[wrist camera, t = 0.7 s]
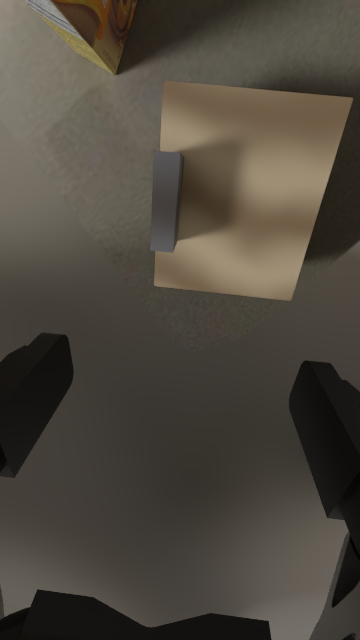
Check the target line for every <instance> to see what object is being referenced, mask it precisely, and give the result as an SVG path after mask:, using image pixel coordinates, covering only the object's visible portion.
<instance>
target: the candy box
mask: <svg viewBox="0 0 360 640" xmlns="http://www.w3.org/2000/svg"><path fill="white" fill-rule="evenodd" d="M25 1H26V2H27V3H28V4H29V5H30V6H31V7H32V8H33V9H34V10H35V11H36V12H37V13H38V14H39V15H40V16H41V17H42V18H43V19H44V20H45V21H46V22H47V23H48V24H49V25H50V26H51V27H52V28H53V29H54V30H55V31H56V32H57V33H58V34H59V35H60V36H61V37H62V38H63V39H64V41H65V42H66V43H68V44H69V45H70V46H71V47H72V49H73V50H75V51H76V52H77V53H78V54H80V55H82V56H83V57H85V58H87V59H88V60H90V61H92V62H93V63H95V64H97V65H98V66H100V67H102V68H103V69H105V70H106V71H108V72H110V73H111V74H113V75H116V72H117V68H118V65H119V62H120V59H121V55H122V52H123V49H124V45H125V42H126V38H127V35H128V31H129V28H130V25H131V22H132V18H133V15H134V12H135V8H136V4H137V1H138V0H25Z"/></svg>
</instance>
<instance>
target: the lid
mask: <svg viewBox="0 0 360 640" xmlns="http://www.w3.org/2000/svg"><path fill="white" fill-rule="evenodd" d="M352 101H353V98H350V97H339V96H328V95H317V94H306V93H295V92H284V91H273V90H262V89H251V88H240V87H229V86H218V85H207V84H196V83H185V82H174V81H163V97H162V120H161V142H160V151H155V150H154V164H153V192H152V220H151V248H150V250H152V251H156V254H155V276H154V286H160V287H169V288H178V289H187V290H197V291H206V292H215V293H224V294H233V295H242V296H251V297H261V298H270V299H279V300H288V301H291V299H292V296H293V292H294V289H295V286H296V283H297V279H298V276H299V273H300V270H301V266H302V263H303V260H304V257H305V253H306V250H307V247H308V244H309V240H310V237H311V234H312V231H313V228H314V224H315V221H316V218H317V215H318V211H319V208H320V205H321V202H322V198H323V195H324V192H325V189H326V185H327V182H328V179H329V176H330V172H331V169H332V166H333V163H334V159H335V156H336V153H337V150H338V146H339V143H340V140H341V137H342V134H343V130H344V127H345V124H346V121H347V117H348V114H349V111H350V108H351V104H352Z"/></svg>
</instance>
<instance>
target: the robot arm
mask: <svg viewBox="0 0 360 640" xmlns="http://www.w3.org/2000/svg"><path fill="white" fill-rule="evenodd" d="M73 372H74V371H73V364H72V357H71V351H70V345H69V340H68V337H67V336H66V335H62V334H52V333H41V334H40V335H38V336H37V337H36V339H34V341H32V342H31V344H29V345H28V346H23V347H21V348H19V349H17V350H15V351H13V352H12V353H10V354H8V355H7V356H6V357H5V358H4V359H3V360H2V361H1V362H0V476H3V477H11V478H14V477H15V476H16V474H17V473H18V471H19V470H20V468H21V466H22V465H23V463H24V461H25V460H26V458H27V456H28V455H29V453H30V451H31V450H32V448H33V447H34V445H35V443H36V442H37V440H38V439H39V437H40V435H41V434H42V432H43V430H44V429H45V427H46V425H47V424H48V422H49V420H50V419H51V417H52V415H53V414H54V412H55V411H56V409H57V407H58V406H59V404H60V403H61V401H62V399H63V398H64V396H65V394H66V393H67V391H68V389H69V388H70V386H71V383H72V380H73ZM289 409H290V413H291V416H292V419H293V422H294V424H295V427H296V430H297V433H298V436H299V439H300V442H301V444H302V447H303V450H304V453H305V456H306V459H307V462H308V465H309V467H310V470H311V473H312V476H313V479H314V482H315V484H316V487H317V490H318V493H319V496H320V499H321V502H322V505H323V507H324V510H325V513H326V516H327V518H333V519H340V520H345V523H346V525H347V528H348V530H349V531H348V532H347V534H346V535H345V538H344V541H343V545H342V548H341V551H340V555H339V558H338V562H337V565H336V569H335V572H334V575H333V579H332V582H331V586H330V589H329V592H328V596H327V599H326V603H325V606H324V609H323V611H322V614H321V616H320V618H319V620H318V622H317V624H316V626H315V628H314V630H313V632H312V634H311V636H310V639H309V640H360V392H359V391H358V390H357V389H356V388H355V387H354V386H352V385H351V384H350V383H349V382H348V381H346V380H341V378H340V377H339V375H338V373H337V372H336V370H335V369H334V367H333V366H332V365H331V364H330V363H326V362H316V361H304V362H303V363H302V364H301V366H300V369H299V372H298V374H297V377H296V380H295V382H294V385H293V388H292V391H291V393H290V398H289ZM0 640H271V634H270V627H269V621H264V620H257V619H249V618H241V617H234V616H227V615H220V614H212V613H210V614H206V615H202V616H198V617H194V618H190V619H185V620H181V621H177V622H173V623H169V624H165V625H161V626H158V627H152V628H150V627H145V626H143V625H141V624H139V623H137V622H136V621H134V620H132V619H130V618H129V617H127V616H125V615H123V614H122V613H120V612H118V611H116V610H115V609H113V608H111V607H109V606H108V605H106V604H104V603H102V602H101V601H99V600H97V599H95V598H94V597H88V596H81V595H73V594H66V593H59V592H51V591H44V590H37V592H36V594H35V597H34V600H33V602H32V604H31V607H29V608H25V609H22V610H20V611H17V612H15V613H12V614H9V615H8V616H6V617H4V604H3V596H2V591H1V586H0Z"/></svg>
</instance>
